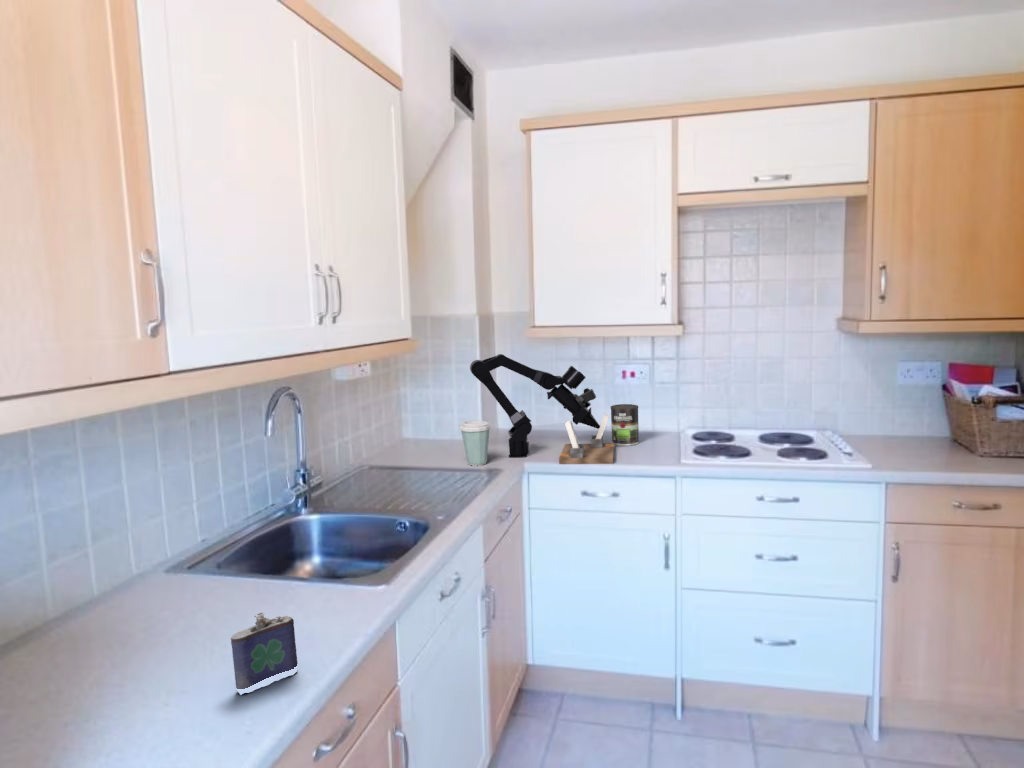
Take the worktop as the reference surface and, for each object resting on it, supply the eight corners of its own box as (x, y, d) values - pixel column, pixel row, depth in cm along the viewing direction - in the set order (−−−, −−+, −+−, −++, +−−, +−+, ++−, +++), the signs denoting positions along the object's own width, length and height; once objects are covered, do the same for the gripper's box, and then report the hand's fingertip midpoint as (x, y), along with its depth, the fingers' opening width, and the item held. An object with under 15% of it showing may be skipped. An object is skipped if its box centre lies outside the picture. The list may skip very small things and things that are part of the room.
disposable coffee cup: (488, 458, 233) (485, 417, 231) (496, 465, 223) (494, 422, 221) (459, 462, 230) (456, 420, 228) (466, 469, 220) (463, 425, 218)
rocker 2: (592, 445, 234) (603, 414, 232) (593, 442, 238) (603, 413, 236) (598, 447, 234) (609, 417, 232) (599, 444, 238) (610, 415, 235)
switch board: (559, 464, 221) (558, 449, 220) (565, 449, 242) (564, 435, 241) (613, 463, 217) (612, 448, 217) (614, 448, 239) (613, 435, 238)
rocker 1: (574, 456, 221) (564, 424, 220) (575, 454, 225) (565, 422, 224) (581, 455, 221) (571, 422, 220) (582, 452, 225) (572, 420, 224)
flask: (239, 698, 95) (231, 628, 94) (233, 689, 98) (225, 622, 96) (301, 673, 101) (294, 607, 100) (294, 666, 103) (287, 601, 102)
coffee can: (637, 446, 240) (636, 408, 239) (609, 445, 244) (608, 408, 242) (641, 440, 250) (640, 403, 248) (614, 439, 253) (613, 403, 252)
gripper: (580, 385, 225) (614, 416, 224) (583, 379, 243) (614, 407, 242) (558, 409, 227) (592, 439, 226) (563, 400, 245) (594, 428, 245)
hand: (599, 427), depth 235 cm, fingers closed, pressing on rocker 2
